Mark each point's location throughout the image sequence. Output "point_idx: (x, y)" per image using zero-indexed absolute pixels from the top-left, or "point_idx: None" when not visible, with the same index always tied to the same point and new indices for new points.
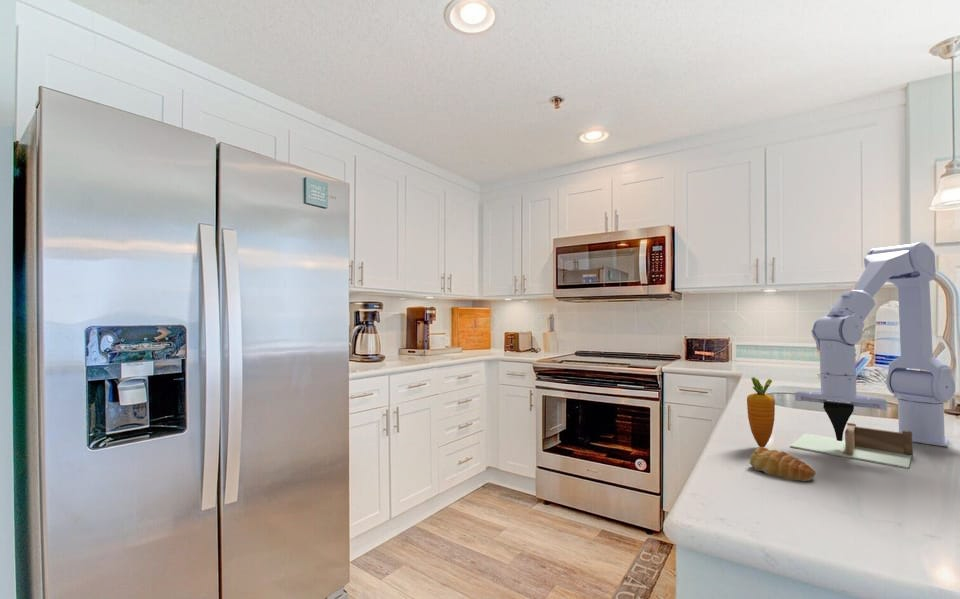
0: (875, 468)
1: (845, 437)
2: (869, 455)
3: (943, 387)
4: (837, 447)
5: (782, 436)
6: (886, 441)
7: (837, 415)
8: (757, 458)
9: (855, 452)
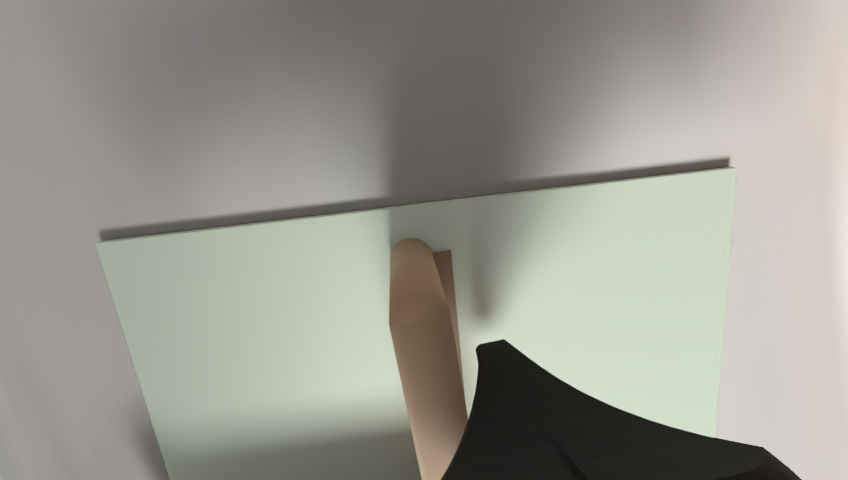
0: (223, 73)
1: (439, 285)
2: (325, 333)
3: None
4: None
5: (798, 404)
6: None
7: (572, 454)
8: None
9: None
